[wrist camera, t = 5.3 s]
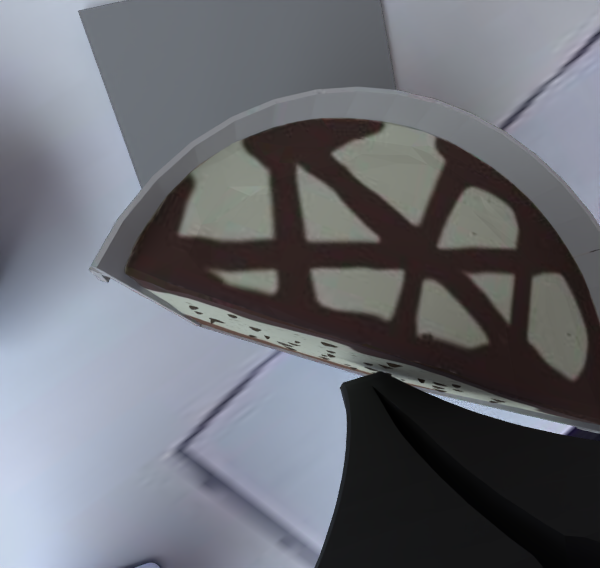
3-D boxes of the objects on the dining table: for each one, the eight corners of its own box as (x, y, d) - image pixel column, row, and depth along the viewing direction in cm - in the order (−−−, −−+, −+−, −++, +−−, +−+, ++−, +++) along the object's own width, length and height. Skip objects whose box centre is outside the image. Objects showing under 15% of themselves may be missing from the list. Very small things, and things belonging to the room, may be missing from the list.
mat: (410, 191, 17) (414, 191, 16) (169, 257, 16) (166, 258, 15) (367, -45, 14) (371, -52, 14) (82, 16, 13) (77, 10, 13)
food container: (437, 274, 18) (685, 193, 8) (414, 391, 17) (685, 453, 7) (210, 190, 16) (198, -45, 6) (161, 315, 14) (51, 254, 5)
